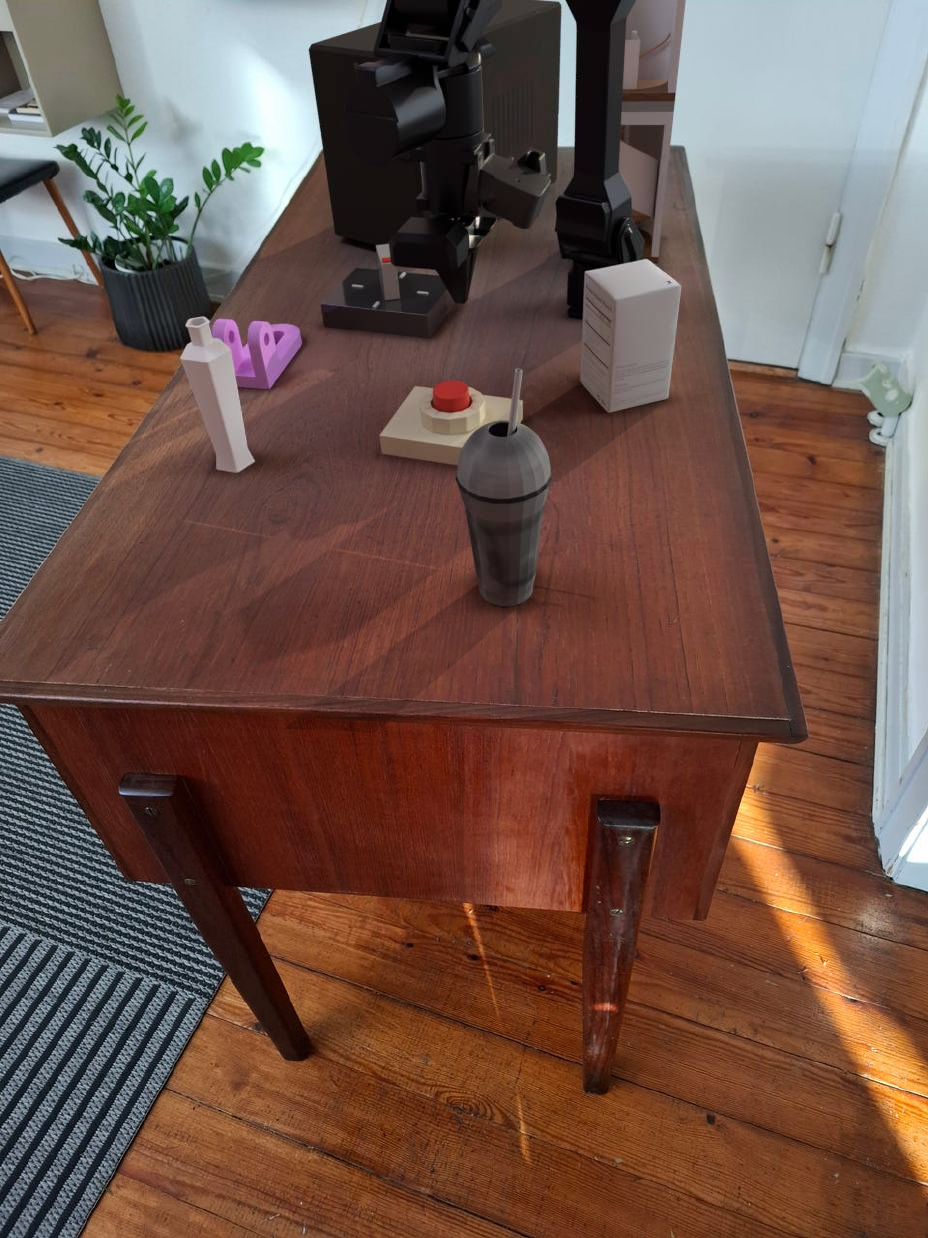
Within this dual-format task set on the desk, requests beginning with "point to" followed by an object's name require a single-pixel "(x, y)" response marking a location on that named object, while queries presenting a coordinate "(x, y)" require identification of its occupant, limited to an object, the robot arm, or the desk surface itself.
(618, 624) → the desk surface
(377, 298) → the panel
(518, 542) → the beverage cup
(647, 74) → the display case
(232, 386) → the perfume bottle
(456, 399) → the button
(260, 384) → the bracket
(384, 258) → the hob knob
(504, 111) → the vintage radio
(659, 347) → the white packaging box
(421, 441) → the block
